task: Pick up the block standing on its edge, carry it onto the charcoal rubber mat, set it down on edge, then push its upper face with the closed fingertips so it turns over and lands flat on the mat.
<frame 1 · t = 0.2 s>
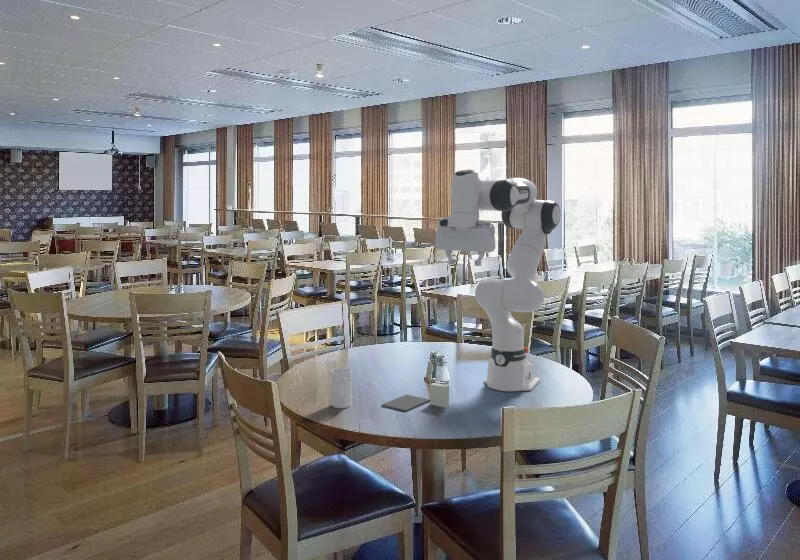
hand: (464, 265, 220), 47 cm above the table, fingers open, 8 cm apart
mug: (342, 407, 228), on the table
mat: (406, 403, 231), on the table
block: (439, 405, 229), on the table
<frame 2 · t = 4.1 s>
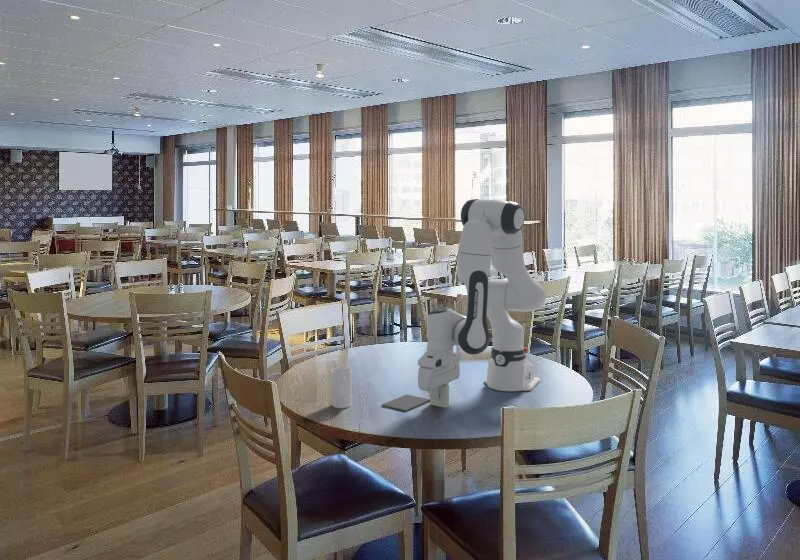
hand: (439, 397, 229), 3 cm above the table, fingers closed on block, 2 cm apart
block: (439, 405, 229), on the table, touching gripper
everything else where it was.
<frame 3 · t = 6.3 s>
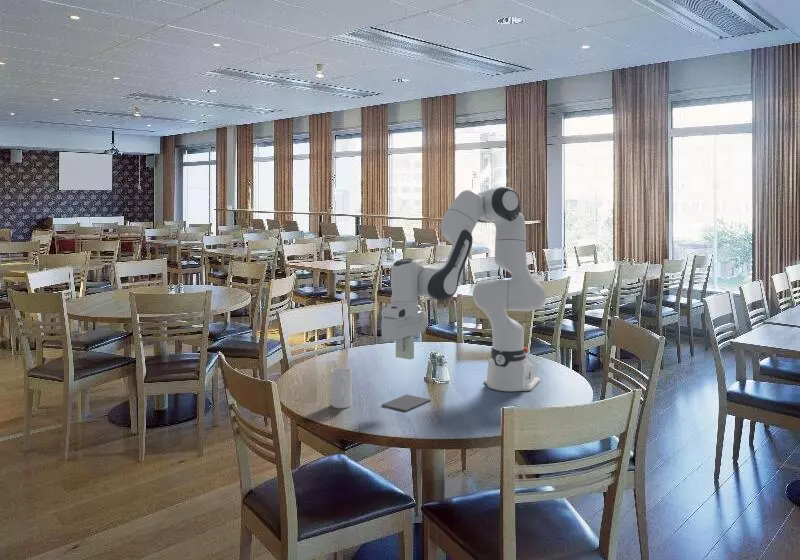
hand: (404, 349, 228), 19 cm above the table, fingers closed on block
block: (404, 357, 228), point 16 cm above the table, touching gripper
everything else where it was.
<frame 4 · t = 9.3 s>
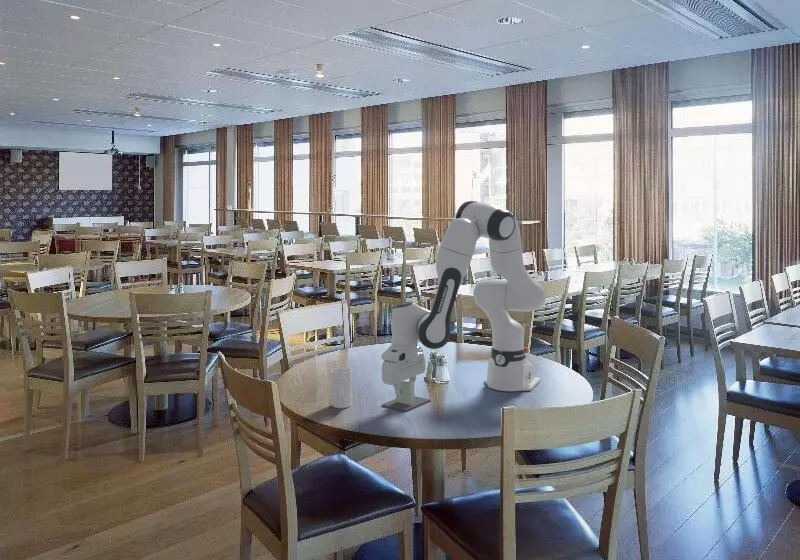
hand: (404, 391, 230), 4 cm above the table, fingers open, 5 cm apart
block: (405, 402, 230), point 1 cm above the table, touching mat
everything else where it was.
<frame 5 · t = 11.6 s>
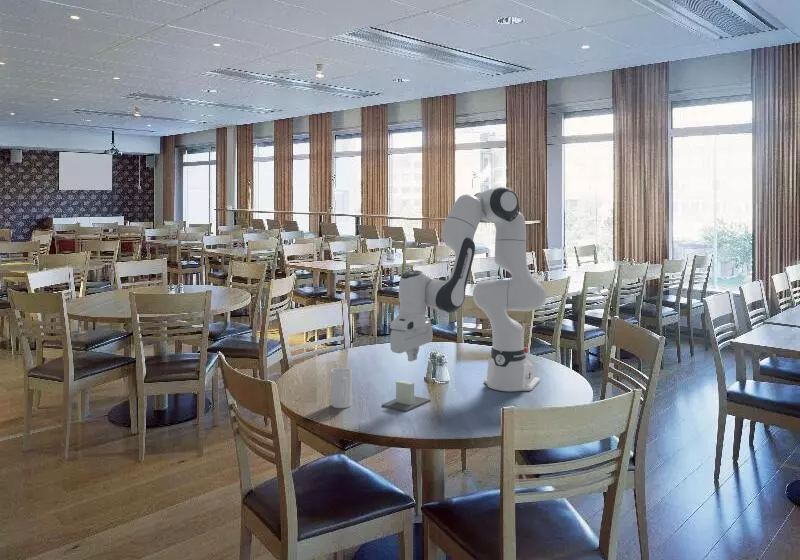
hand: (412, 360, 231), 14 cm above the table, fingers closed
nothing on the table moved.
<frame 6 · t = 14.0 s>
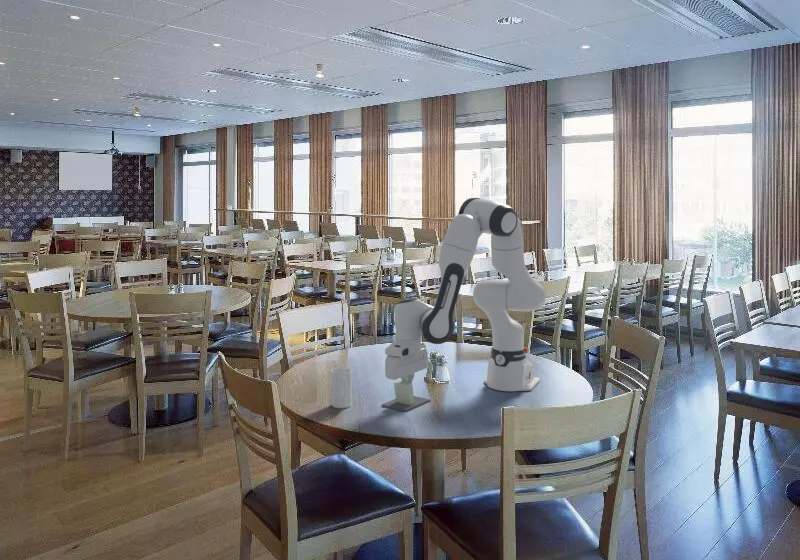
hand: (407, 386, 231), 6 cm above the table, fingers closed
block: (405, 402, 230), point 1 cm above the table, tilted 9°, touching mat
everything else where it was.
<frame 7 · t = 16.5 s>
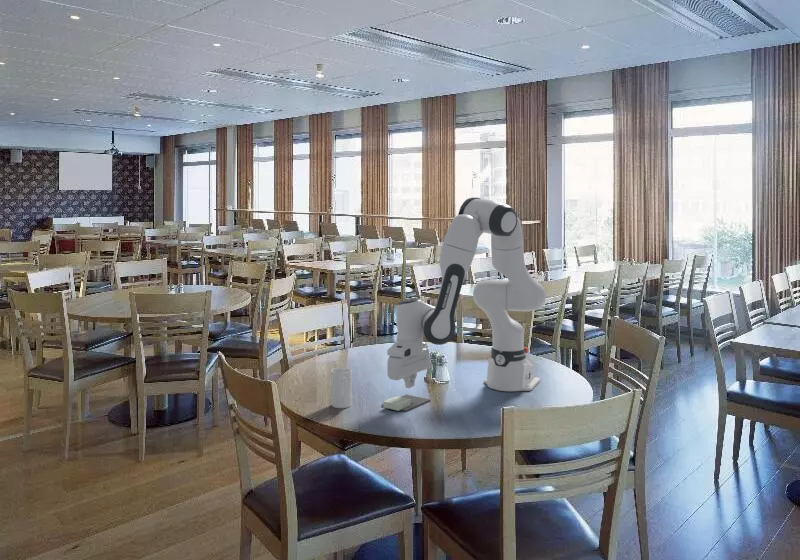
hand: (409, 387, 232), 5 cm above the table, fingers closed
block: (403, 400, 229), point 2 cm above the table, tilted 90°, touching mat
everything else where it was.
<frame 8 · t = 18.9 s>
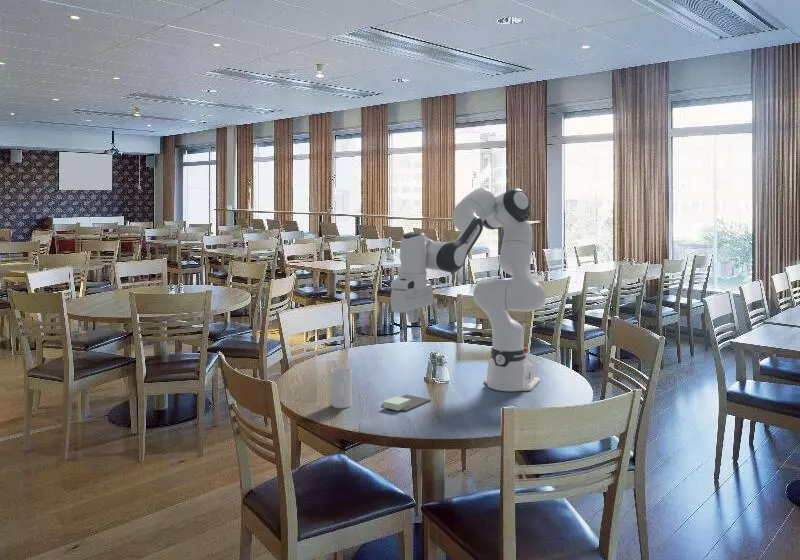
hand: (413, 322, 231), 27 cm above the table, fingers closed
nothing on the table moved.
at the end: block tilted 90°; block inside the target area on the mat (0.2 cm from its centre), point 1.6 cm above the mat's base; the gripper is holding nothing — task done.
